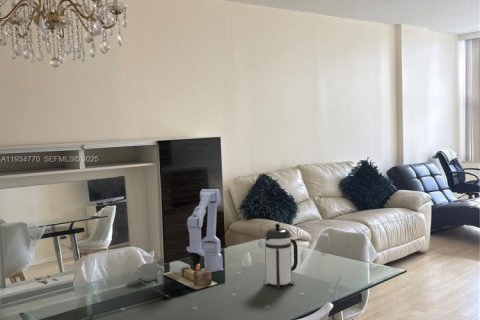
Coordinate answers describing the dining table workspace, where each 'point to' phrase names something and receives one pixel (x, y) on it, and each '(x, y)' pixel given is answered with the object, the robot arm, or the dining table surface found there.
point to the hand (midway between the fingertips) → (196, 267)
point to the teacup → (149, 271)
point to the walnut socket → (202, 278)
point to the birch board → (186, 280)
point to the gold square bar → (190, 271)
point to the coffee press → (279, 256)
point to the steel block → (178, 268)
